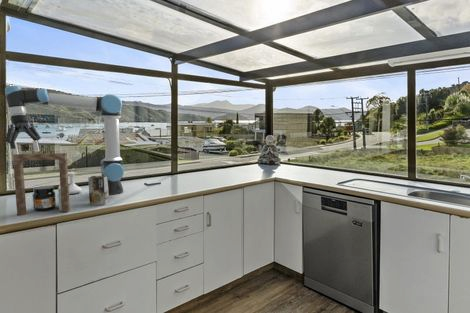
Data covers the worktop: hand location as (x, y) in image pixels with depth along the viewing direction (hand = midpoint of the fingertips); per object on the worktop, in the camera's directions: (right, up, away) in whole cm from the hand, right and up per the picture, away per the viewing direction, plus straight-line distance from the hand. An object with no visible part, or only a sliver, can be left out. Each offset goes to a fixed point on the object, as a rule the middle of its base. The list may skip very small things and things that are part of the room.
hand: (27, 153), depth 168 cm
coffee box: (+37, -30, +8) cm, 48 cm away
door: (+21, -30, -1) cm, 37 cm away
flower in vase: (+5, -27, +36) cm, 45 cm away
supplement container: (+12, -31, -3) cm, 33 cm away
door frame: (+16, -31, -11) cm, 37 cm away
